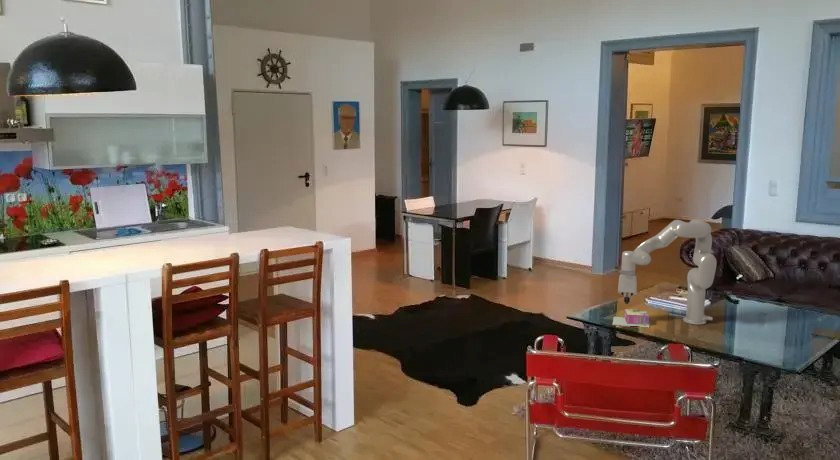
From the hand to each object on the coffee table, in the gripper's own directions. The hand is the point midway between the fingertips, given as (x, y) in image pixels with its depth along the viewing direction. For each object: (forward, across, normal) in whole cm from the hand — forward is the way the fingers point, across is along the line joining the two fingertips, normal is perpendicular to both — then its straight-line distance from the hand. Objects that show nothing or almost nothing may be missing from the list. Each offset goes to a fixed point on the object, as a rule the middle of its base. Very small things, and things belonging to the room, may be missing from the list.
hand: (626, 303), depth 388 cm
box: (+8, 0, 0) cm, 8 cm away
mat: (+11, +3, 0) cm, 12 cm away
